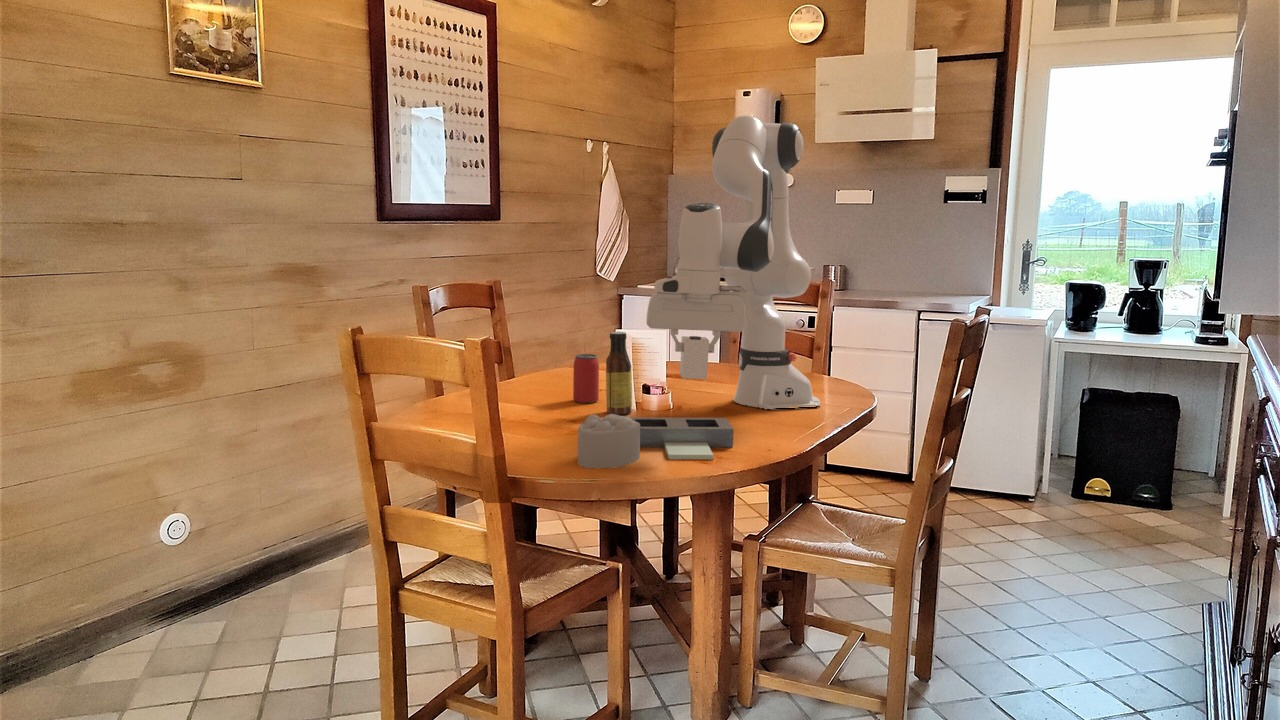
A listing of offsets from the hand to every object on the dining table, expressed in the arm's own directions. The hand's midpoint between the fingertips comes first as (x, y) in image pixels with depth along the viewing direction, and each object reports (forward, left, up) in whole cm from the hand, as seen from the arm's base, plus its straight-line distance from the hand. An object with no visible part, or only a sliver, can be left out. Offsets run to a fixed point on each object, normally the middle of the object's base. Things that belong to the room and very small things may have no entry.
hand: (694, 351), depth 175 cm
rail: (+3, -6, -21) cm, 22 cm away
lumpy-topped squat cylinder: (+18, +8, -21) cm, 29 cm away
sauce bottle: (+14, -33, -21) cm, 41 cm away
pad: (+1, +3, -21) cm, 21 cm away
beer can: (+22, -46, -21) cm, 55 cm away
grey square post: (0, 0, -5) cm, 5 cm away
